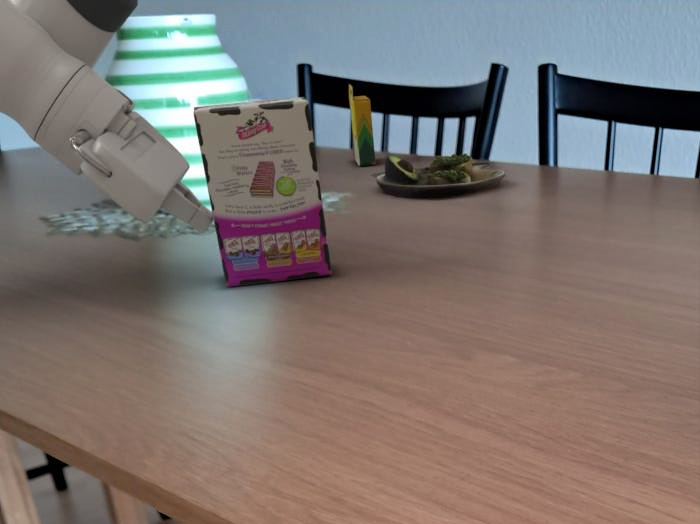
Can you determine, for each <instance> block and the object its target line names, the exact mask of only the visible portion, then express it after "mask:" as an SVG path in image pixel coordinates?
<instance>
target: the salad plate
mask: <svg viewBox="0 0 700 524" xmlns="http://www.w3.org/2000/svg"><path fill="white" fill-rule="evenodd" d="M490 164H491V162H490V161H481V162H473V158H472V156H471V155H468V153H465V152H464V153H462V154H460V155H457V154H456V153H452V154H451V155H442V156H441V155H436V156H435V159H433V160H432V162H431V163H430V165H428V166H425V167H418V168H414V166H413V164H412V162H411V161H410V160H409V159H405V158H400V157H399V156H396V155H393V154H390V155H387V158H386V160H385V164H384V171H381V172H374V173H372V174H370V177H373V178H375V181H376V184H377V185H378V186H379V188H380V190H381V191H382V192H383V194H385V195H390V196H393V197H394V196H395V197H400V198H406V199H407V198H408V199H417V200H419V199H421V200H436V199H439V200H440V199H449V198H455V197H461V196H465V195H469V194H473V193H478V192H481V191H484V190H487V189H489V188H493V187H495V186H497V185H498V184H499V183H500V182H501V181H502V180H503V179H504V178H506V173H505V171H504V170H503V169H484V168H486V167H488V166H491V165H490Z"/></svg>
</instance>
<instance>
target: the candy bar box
mask: <svg viewBox="0 0 700 524" xmlns="http://www.w3.org/2000/svg"><path fill="white" fill-rule="evenodd" d="M193 119H194V125H195V131H196V136H197V140H198V145H199V150H200V156H201V161H202V165H203V171H204V176H205V182H206V188H207V193H208V197H209V203H210V208H211V212H212V214H213V223H214V224H213V225H214V229H215V234H216V239H217V245H218V250H219V255H220V261H221V265H222V271H223V277H224V281H225V284H226V287H238V286H249V285H256V284H257V285H258V284H265V283H274V282H281V281H290V280H298V279H308V278H315V277H324V276H331V275H332V265H331V257H330V249H329V243H328V242H329V241H328V235H327V227H326V220H325V212H324V206H323V197H322V192H321V184H320V177H319V176H320V175H319V167H318V161H317V153H316V152H317V151H316V145H315V139H314V132H313V125H312V124H313V122H312V115H311V108H310V104H309V100H308V99H306V98H305V96H301V97H287V98H277V99H275V98H273V99H263V100H253V101H252V100H251V101H242V102H233V103H231V102H230V103H222V104H214V105H213V104H212V105H203V106H194V107H193Z"/></svg>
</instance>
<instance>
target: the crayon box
mask: <svg viewBox="0 0 700 524" xmlns="http://www.w3.org/2000/svg"><path fill="white" fill-rule="evenodd" d="M348 101H349V108H350V109H349V110H350V119H351V129H352V140H353V151H354V160H355V162H356V163H357V165H358V167H366V166H368V167H369V166H375V165H376V151H375V141H374V129H373V117H372V108H371V99H370V98H369V97H367V96H366V95H358V96H354V87H353V85H352V84H350V83H348Z"/></svg>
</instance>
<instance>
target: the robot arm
mask: <svg viewBox="0 0 700 524" xmlns="http://www.w3.org/2000/svg"><path fill="white" fill-rule="evenodd" d="M138 5H139V0H0V113H1V114H3V115H5V116H7V117H9V118H10V119H12V120H13V121H15V122H16V123H17V124H18V125H19V127H21V129H22V130H23V131H24V132H25V133H26V134H27V136H28V137H29V138H30V139H31V140H32V141H33V142H35V143H36V144H37V145H38V146H39V147H41V148H42V149H43V150H45V151H46V152H47V153H48V154H49V155H51V156H52V157H53V158H54V159H56V160H57V161H59V163H61V164H62V165H63V166H65V167H66V168H67V169H69V170H70V172H73V174H75V175H76V176H81V175H82V174H84V175H85V177H86V178H87V179H88V180H89V181H91V183H92V184H94V185H95V186H96V187H97V188H98V189H99V190H101V192H103V193H104V194H105V195H106V197H108V198H109V199H111V201H113V202H114V203H116V204H117V205H118V206H119V207H120V208H121V209H122V210H124V211H125V212H126V213H127V214H129V215H130V216H131V217H133V218H134V219H135V220H137V221H140V222H142V223H143V224H149V222H151V221H152V219H153V218H154V216H155V215H156V213H157V212H158V211H159V210H160V209H161V208H162V209H163V210H164V211H166V212H167V213H168V214H170V215H171V216H172V217H174V218H176V219H179V220H180V221H182V222H184V223H186V224H188V225H189V226H190V227H192V228H193V229H194V230H195V231H197V232H198V233H199V234H205V233H206V232H207V230H208V229H209V228H210V227H211V225H212V223H213V222H214V219H213V214H212V210H210V209H209V208H208V207H206V206H205V205H204V204H202V202H201V201H200V200H199V198H198V197H197V196H196V195H195V194H194V192H192V190H191V189H190V188H189V187H187V186H186V185H185V184H184V183H183V182H182V180H183V178H184V177H185V176H186V174H187V173H188V172H189V170H190V167H191V166H190V164H189V161H188V160H187V159H186V158H185V157H184V155H183V154H182V153H181V152H180V151H179V149H177V148H176V147H175V146H174V145H173V144H172V143H171V142H170V141H169V140H168V139H167V138H166V137H165V136H164V135H163V134H162V133H161V132H160V131H159V130H157V128H156V127H154V126H153V125H152V124H151V123H150V122H149V121H148V120H147V119H146V118H145V117H143V116H142V115H141V114H140V113H139V112H136V111H135V110H134V109H135V107H136V104H135V102H134V100H133V99H131V98H130V97H129V96H128V95H126V93H124V92H122V91H121V90H119V89H118V88H115V87H114V86H113V85H112V84H110V83H109V82H108V81H106V80H105V79H104V78H103V77H102V76H101V75H100V74H99V73H97V72H96V71H95V70H94V69H95V67H96V65H97V63H98V62H99V60H100V58H101V57H102V55H103V54H104V52H105V50H106V49H107V47H108V45H109V44H110V43H111V41H112V39H113V37H114V36H115V34H116V33H117V32H118V31H120V29H121V27H122V26H123V25H124V24H125V23H126V21H127V20H128V19H129V17H130V16H131V15H132V13H133V12H134V11H135V10H136V8H137V7H138Z"/></svg>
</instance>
